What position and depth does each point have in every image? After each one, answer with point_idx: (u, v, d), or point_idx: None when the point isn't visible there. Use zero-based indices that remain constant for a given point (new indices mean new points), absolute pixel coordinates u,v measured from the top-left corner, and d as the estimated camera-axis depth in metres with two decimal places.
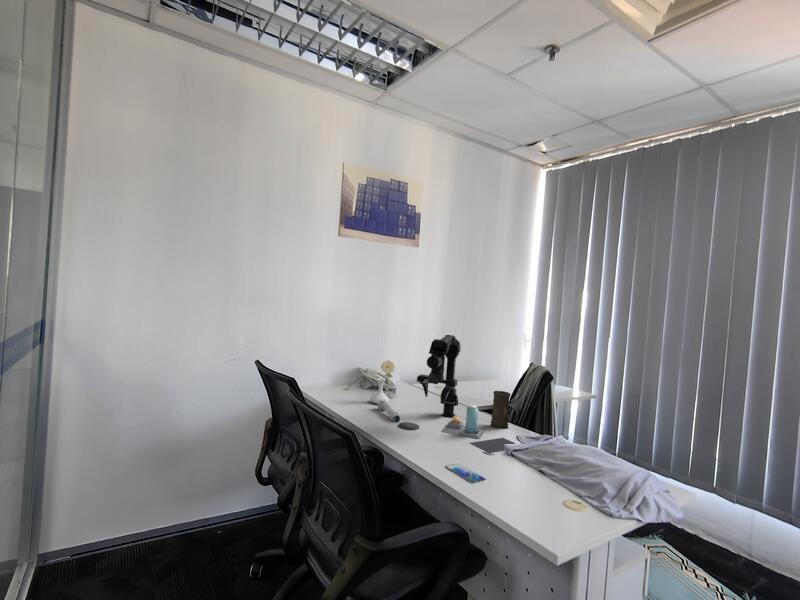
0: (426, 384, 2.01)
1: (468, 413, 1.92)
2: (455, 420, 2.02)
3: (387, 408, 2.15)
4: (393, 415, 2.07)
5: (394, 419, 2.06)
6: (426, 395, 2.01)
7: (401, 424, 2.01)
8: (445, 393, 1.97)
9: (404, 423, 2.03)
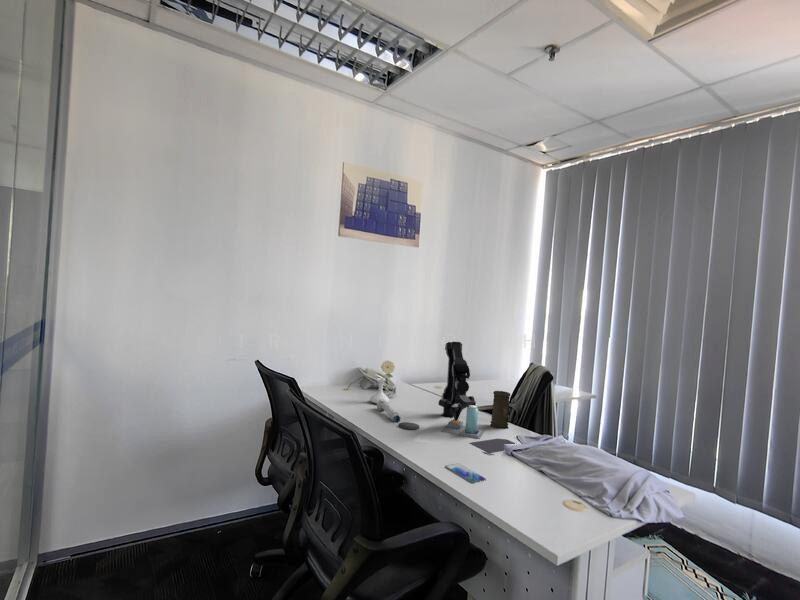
0: None
1: (468, 413, 1.92)
2: (455, 422, 2.02)
3: (387, 408, 2.15)
4: (393, 415, 2.06)
5: (394, 419, 2.05)
6: (456, 418, 2.03)
7: (401, 424, 2.01)
8: (458, 413, 2.03)
9: (404, 423, 2.03)
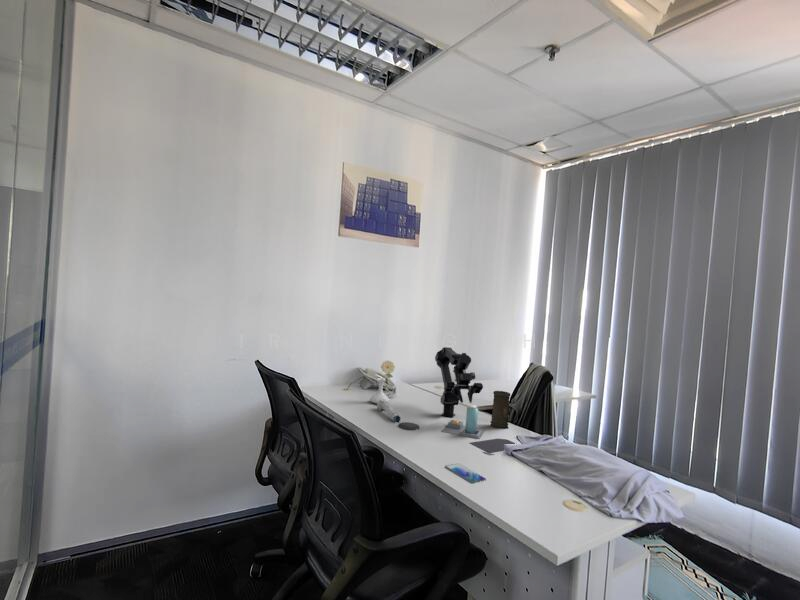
0: None
1: (468, 413, 1.92)
2: None
3: (387, 408, 2.15)
4: (393, 415, 2.06)
5: (394, 419, 2.05)
6: (462, 400, 2.01)
7: (401, 424, 2.01)
8: (470, 395, 2.04)
9: (404, 423, 2.03)
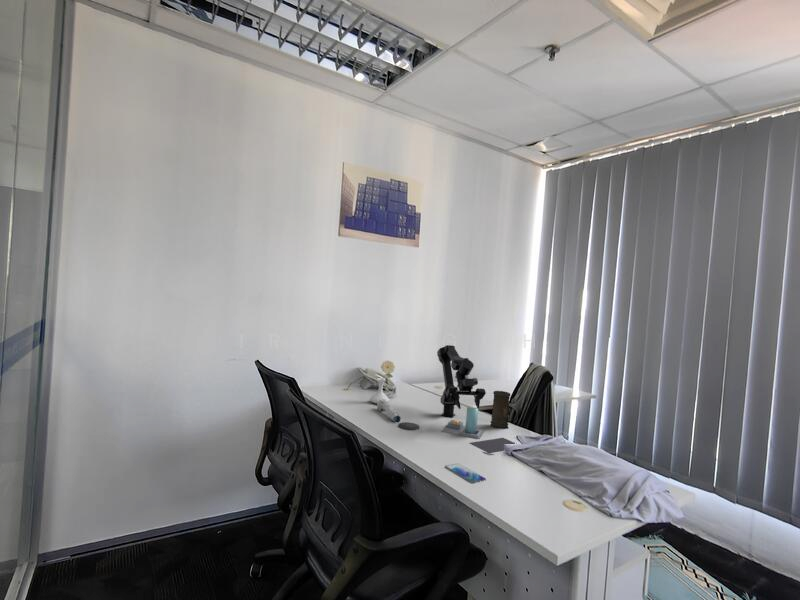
0: None
1: (468, 413, 1.92)
2: None
3: (387, 408, 2.15)
4: (394, 415, 2.06)
5: (395, 419, 2.05)
6: None
7: (401, 424, 2.01)
8: (478, 401, 2.00)
9: (404, 423, 2.03)
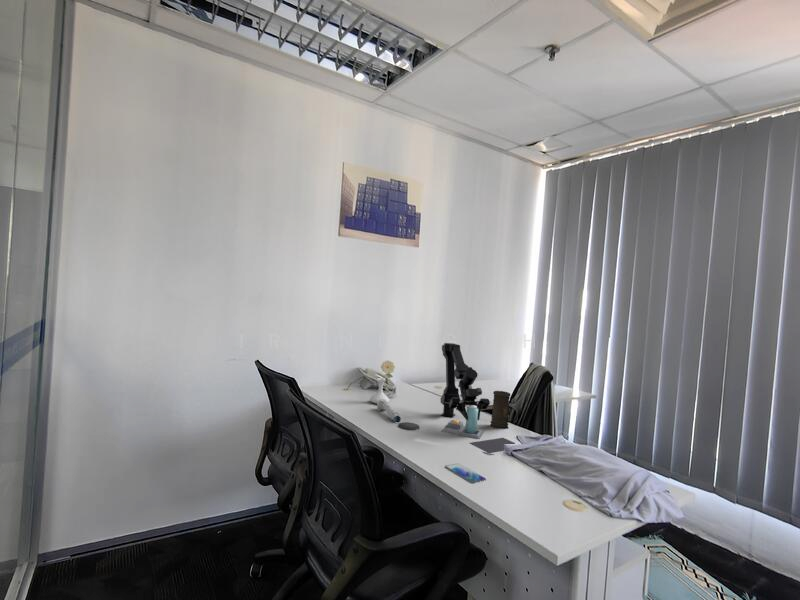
0: None
1: (468, 413, 1.92)
2: None
3: (387, 408, 2.15)
4: (394, 415, 2.06)
5: (395, 419, 2.05)
6: (467, 417, 1.92)
7: (401, 424, 2.01)
8: (478, 411, 1.94)
9: (404, 423, 2.03)
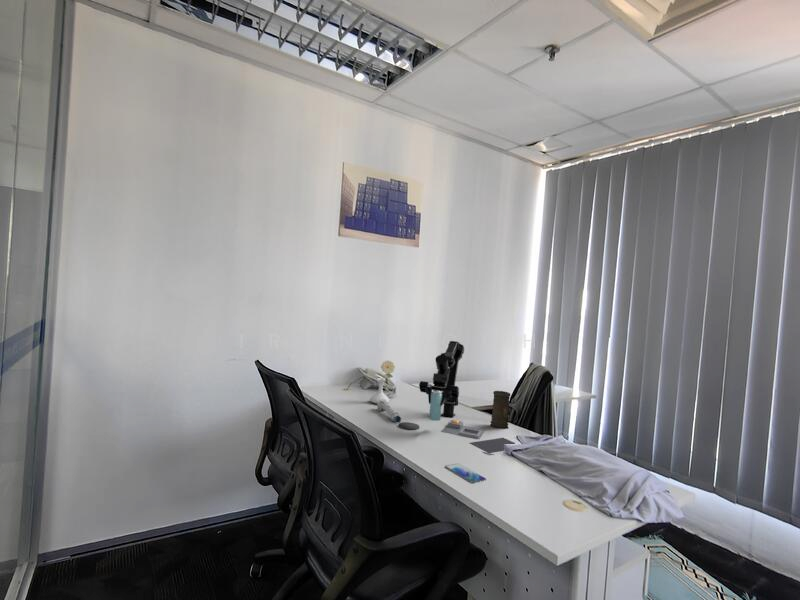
0: None
1: (431, 397, 1.94)
2: None
3: (387, 408, 2.15)
4: (394, 415, 2.06)
5: (395, 420, 2.05)
6: (429, 401, 1.94)
7: (401, 424, 2.01)
8: (443, 397, 1.94)
9: (404, 423, 2.03)
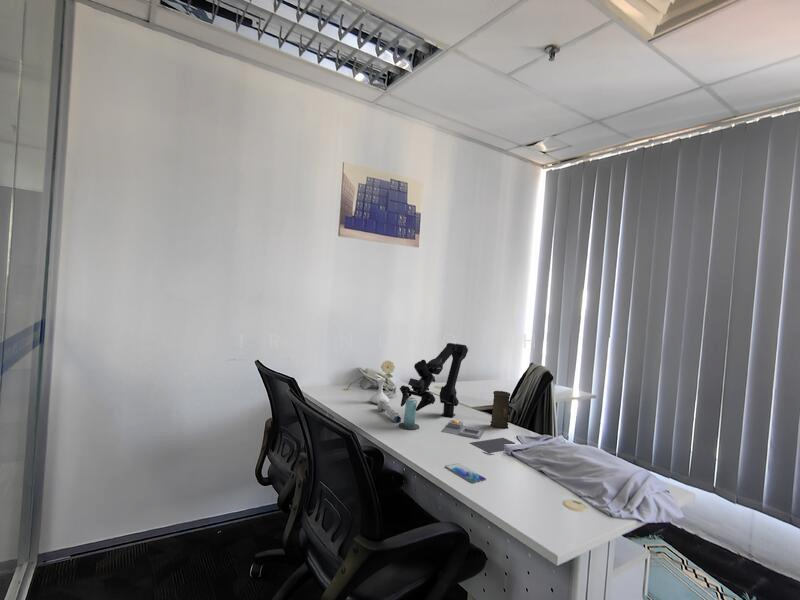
0: (406, 395, 2.06)
1: None
2: None
3: (388, 409, 2.14)
4: (394, 416, 2.06)
5: (395, 420, 2.05)
6: (401, 403, 2.02)
7: (401, 424, 2.01)
8: (419, 403, 1.97)
9: None
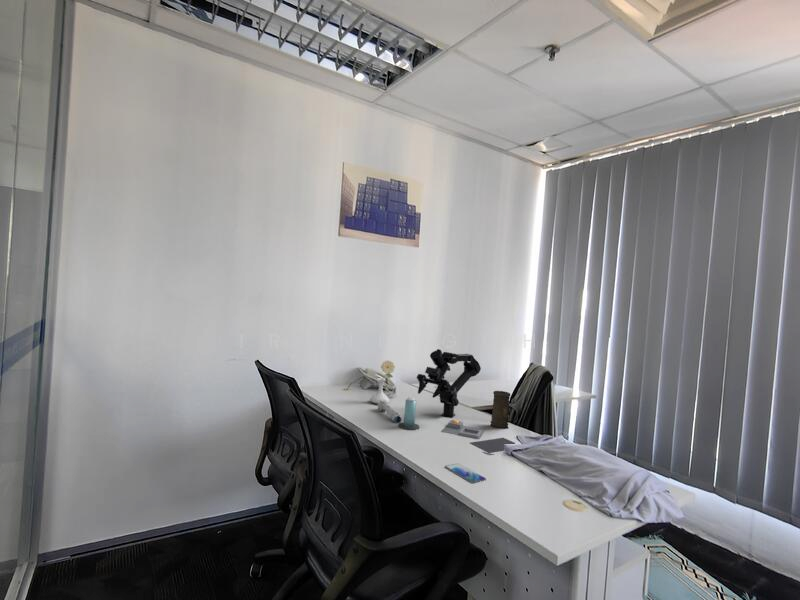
0: (423, 383, 2.16)
1: None
2: None
3: (388, 409, 2.14)
4: (394, 416, 2.05)
5: (395, 420, 2.04)
6: (419, 391, 2.13)
7: (401, 424, 2.01)
8: (435, 390, 2.08)
9: None
